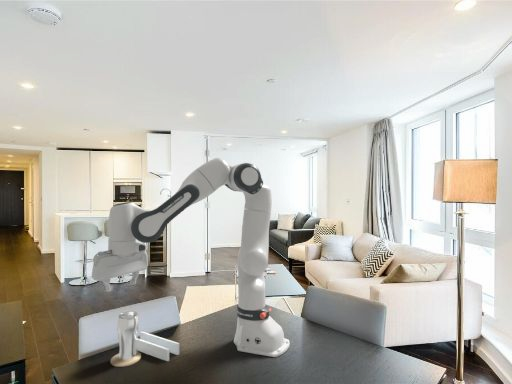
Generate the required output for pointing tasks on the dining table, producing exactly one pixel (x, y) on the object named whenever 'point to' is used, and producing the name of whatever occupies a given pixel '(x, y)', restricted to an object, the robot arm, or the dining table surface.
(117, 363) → the cork coaster
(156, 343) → the low plastic fence
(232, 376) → the dining table surface
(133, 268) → the robot arm
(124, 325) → the beer glass
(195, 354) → the dining table surface
